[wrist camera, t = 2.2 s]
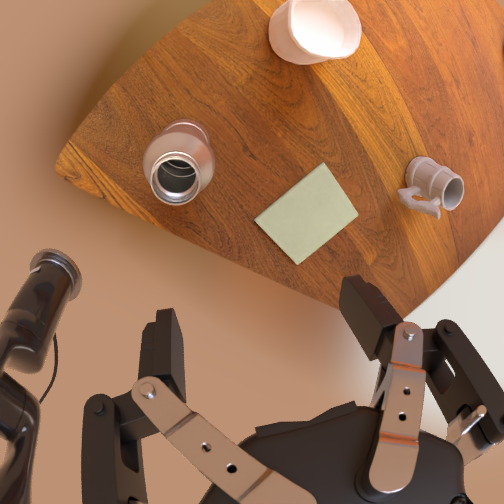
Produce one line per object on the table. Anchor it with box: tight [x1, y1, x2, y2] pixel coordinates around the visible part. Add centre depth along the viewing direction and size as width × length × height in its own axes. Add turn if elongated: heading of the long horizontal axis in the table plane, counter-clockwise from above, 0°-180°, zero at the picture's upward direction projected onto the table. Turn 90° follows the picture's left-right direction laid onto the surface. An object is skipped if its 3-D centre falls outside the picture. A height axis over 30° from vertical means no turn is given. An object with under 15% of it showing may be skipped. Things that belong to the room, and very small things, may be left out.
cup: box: [268, 0, 361, 65], centre depth 26 cm, size 10×10×10 cm
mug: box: [397, 157, 464, 219], centre depth 40 cm, size 8×12×12 cm, turn 121°
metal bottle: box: [143, 119, 215, 205], centre depth 27 cm, size 6×7×20 cm
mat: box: [254, 162, 358, 265], centre depth 45 cm, size 14×12×1 cm
